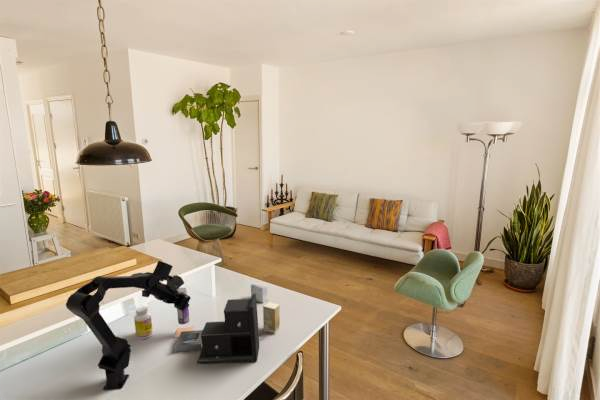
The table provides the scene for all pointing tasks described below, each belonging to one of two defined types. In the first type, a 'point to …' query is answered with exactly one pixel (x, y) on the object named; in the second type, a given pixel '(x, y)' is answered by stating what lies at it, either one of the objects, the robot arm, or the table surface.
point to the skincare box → (271, 317)
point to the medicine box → (259, 292)
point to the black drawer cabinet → (232, 334)
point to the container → (183, 315)
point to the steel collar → (189, 346)
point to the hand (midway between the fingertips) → (185, 304)
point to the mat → (182, 331)
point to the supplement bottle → (143, 323)
